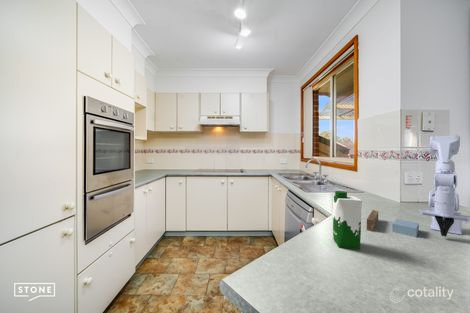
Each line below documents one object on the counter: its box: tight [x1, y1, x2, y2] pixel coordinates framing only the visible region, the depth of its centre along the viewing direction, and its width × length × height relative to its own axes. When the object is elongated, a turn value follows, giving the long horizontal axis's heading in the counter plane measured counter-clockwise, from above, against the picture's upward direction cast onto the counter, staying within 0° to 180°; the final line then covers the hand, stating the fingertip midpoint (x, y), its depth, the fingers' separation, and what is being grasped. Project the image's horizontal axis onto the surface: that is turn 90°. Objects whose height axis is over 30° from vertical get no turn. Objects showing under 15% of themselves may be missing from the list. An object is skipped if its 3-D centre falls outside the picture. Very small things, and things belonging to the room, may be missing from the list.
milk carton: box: [332, 190, 363, 251], centre depth 77 cm, size 9×9×20 cm
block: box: [391, 218, 420, 238], centre depth 91 cm, size 8×10×4 cm
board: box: [366, 209, 379, 232], centre depth 99 cm, size 2×20×5 cm, turn 140°
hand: (443, 235), depth 83 cm, fingers closed
